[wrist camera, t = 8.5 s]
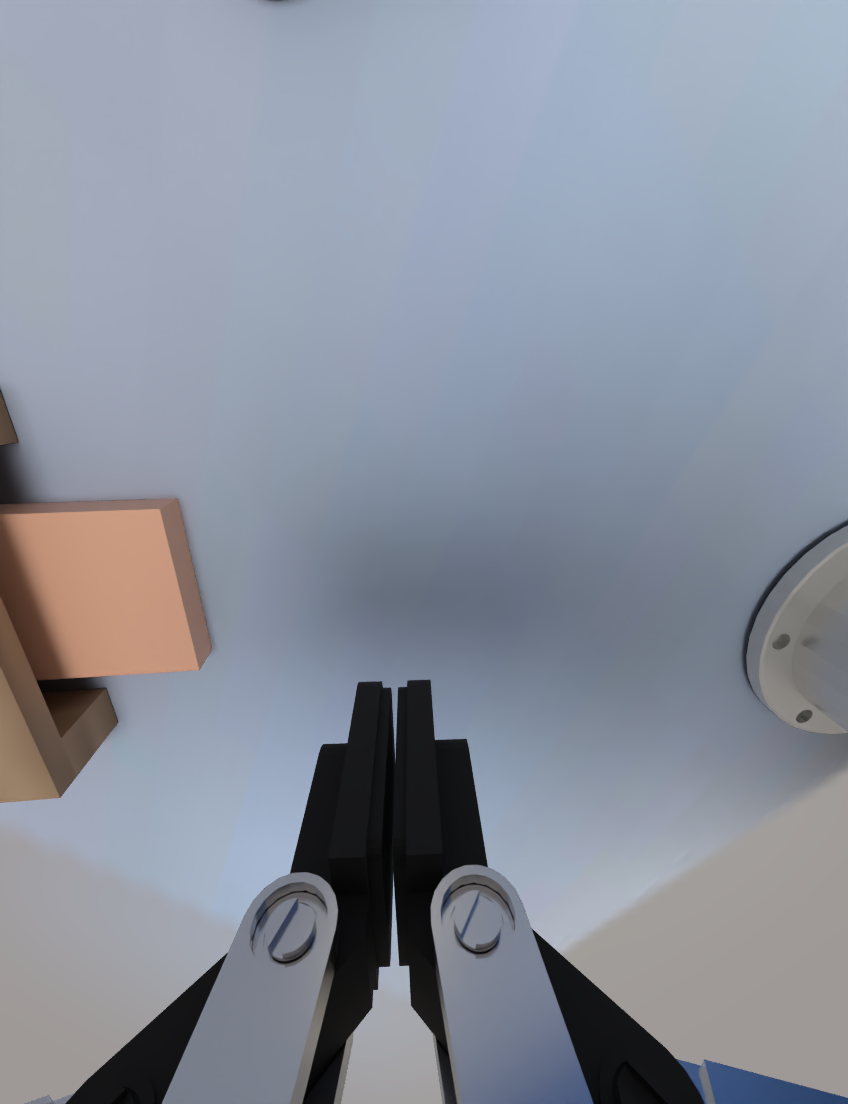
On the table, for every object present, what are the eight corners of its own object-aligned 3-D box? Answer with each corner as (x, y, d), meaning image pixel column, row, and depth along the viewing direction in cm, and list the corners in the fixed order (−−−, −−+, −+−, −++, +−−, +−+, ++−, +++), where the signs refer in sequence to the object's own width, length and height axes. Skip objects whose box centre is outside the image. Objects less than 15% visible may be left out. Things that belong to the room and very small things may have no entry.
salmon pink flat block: (182, 495, 18) (158, 509, 16) (215, 643, 20) (198, 671, 18) (-116, 504, 17) (-181, 521, 15) (-41, 658, 19) (-89, 689, 17)
